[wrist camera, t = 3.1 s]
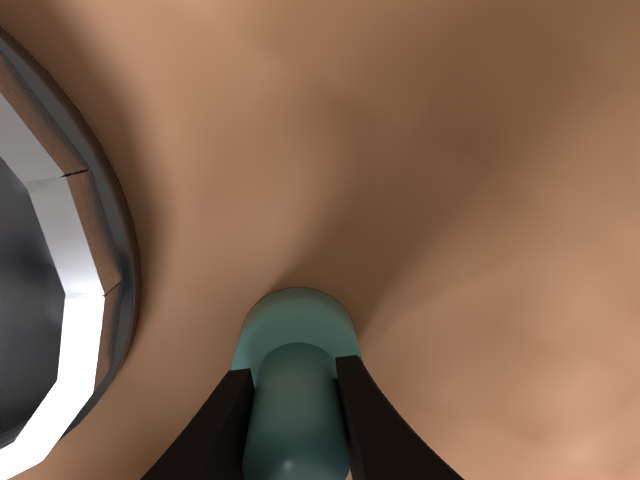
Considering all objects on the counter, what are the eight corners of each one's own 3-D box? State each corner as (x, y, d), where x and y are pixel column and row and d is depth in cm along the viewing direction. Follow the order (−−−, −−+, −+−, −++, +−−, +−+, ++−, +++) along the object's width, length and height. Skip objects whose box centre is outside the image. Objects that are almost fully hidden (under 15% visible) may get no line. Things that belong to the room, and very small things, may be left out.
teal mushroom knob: (359, 379, 14) (389, 517, 9) (251, 392, 14) (224, 539, 9) (349, 280, 12) (380, 381, 8) (231, 295, 12) (186, 405, 8)
